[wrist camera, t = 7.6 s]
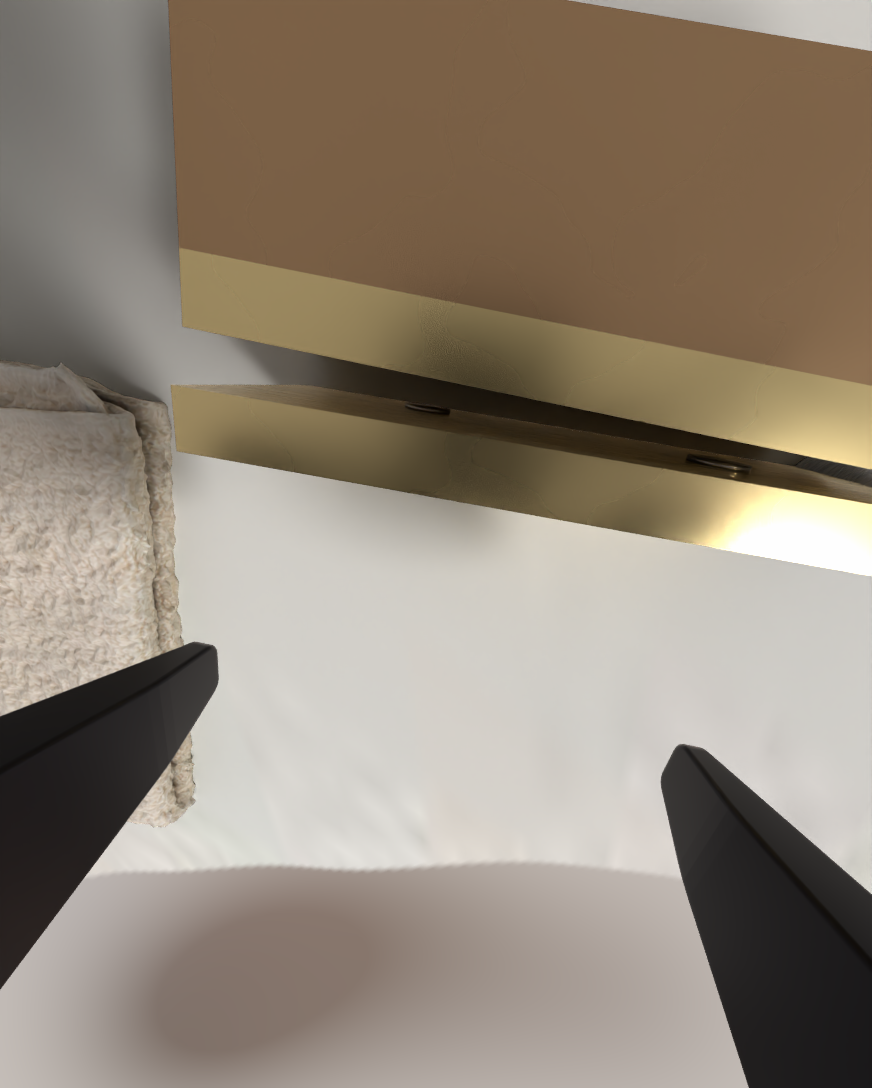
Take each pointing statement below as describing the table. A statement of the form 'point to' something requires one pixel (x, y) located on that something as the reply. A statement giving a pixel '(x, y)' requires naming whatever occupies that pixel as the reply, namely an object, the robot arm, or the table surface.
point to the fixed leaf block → (538, 205)
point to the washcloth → (86, 546)
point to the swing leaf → (539, 470)
